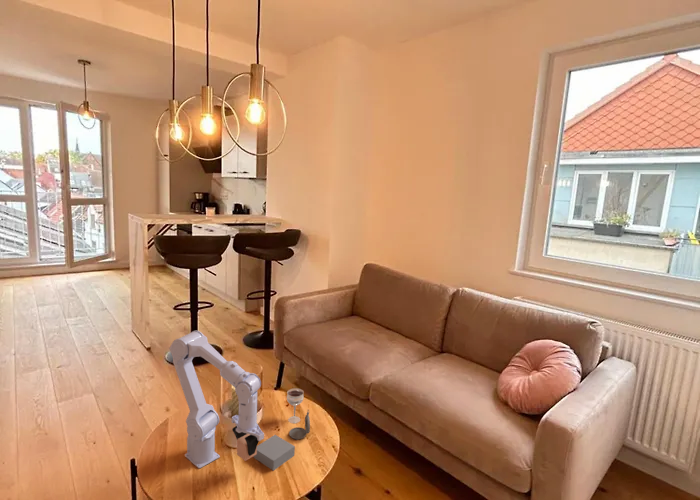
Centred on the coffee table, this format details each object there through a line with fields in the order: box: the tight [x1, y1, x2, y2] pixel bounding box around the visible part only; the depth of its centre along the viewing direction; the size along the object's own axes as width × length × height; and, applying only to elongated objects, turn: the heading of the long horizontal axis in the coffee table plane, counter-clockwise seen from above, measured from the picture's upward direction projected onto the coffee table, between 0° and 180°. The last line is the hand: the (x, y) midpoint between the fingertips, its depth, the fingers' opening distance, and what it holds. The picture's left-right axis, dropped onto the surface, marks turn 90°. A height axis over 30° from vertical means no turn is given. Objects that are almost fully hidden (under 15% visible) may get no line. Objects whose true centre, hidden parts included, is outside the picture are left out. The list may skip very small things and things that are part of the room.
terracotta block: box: [236, 434, 257, 462], centre depth 129 cm, size 4×4×6 cm
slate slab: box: [253, 434, 296, 471], centre depth 138 cm, size 10×10×4 cm
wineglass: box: [286, 387, 305, 424], centre depth 160 cm, size 7×7×12 cm
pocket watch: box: [288, 409, 311, 440], centre depth 151 cm, size 8×8×10 cm
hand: (246, 450), depth 129 cm, fingers closed on terracotta block, 4 cm apart
